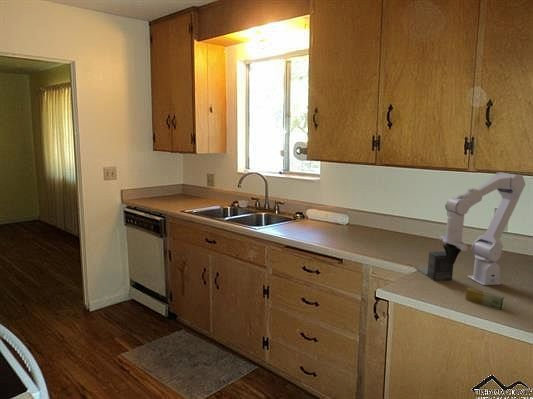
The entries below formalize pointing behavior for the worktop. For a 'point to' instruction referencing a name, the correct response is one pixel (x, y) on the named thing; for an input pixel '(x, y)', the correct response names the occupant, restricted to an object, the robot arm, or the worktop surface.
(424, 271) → the gray flat panel
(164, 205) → the worktop surface
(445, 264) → the box
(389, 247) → the worktop surface
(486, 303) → the medication box
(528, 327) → the worktop surface
